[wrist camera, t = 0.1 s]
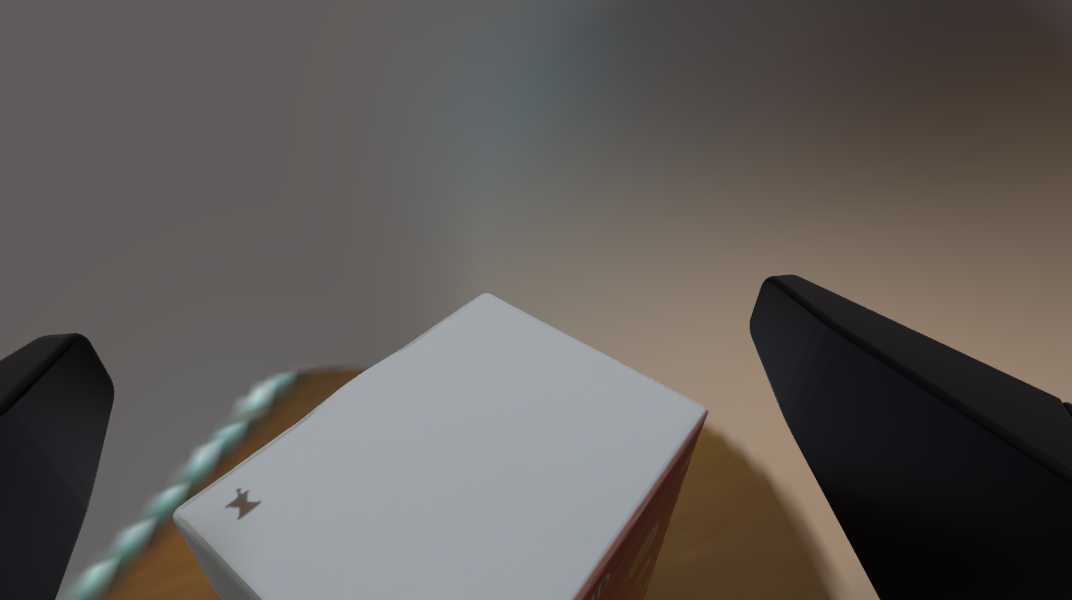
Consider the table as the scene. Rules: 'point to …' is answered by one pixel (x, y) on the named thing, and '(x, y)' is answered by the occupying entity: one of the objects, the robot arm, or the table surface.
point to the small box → (458, 477)
